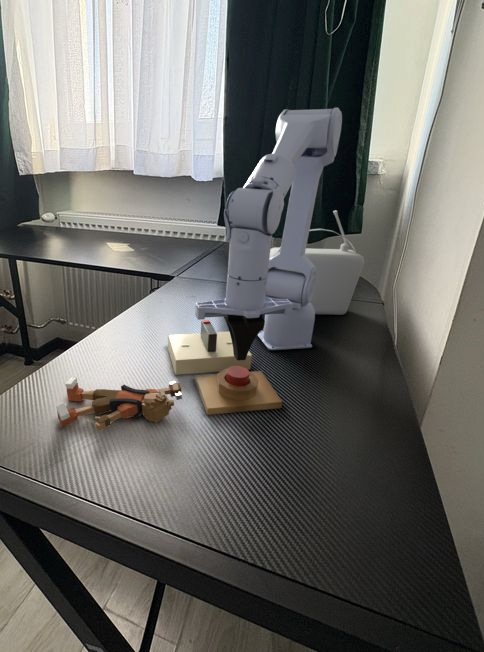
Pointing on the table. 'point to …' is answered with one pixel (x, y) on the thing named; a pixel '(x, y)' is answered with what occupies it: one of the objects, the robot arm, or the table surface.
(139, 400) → the character figurine
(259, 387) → the button block
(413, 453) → the table surface
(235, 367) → the button
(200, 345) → the panel
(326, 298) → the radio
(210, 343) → the dark grey block
